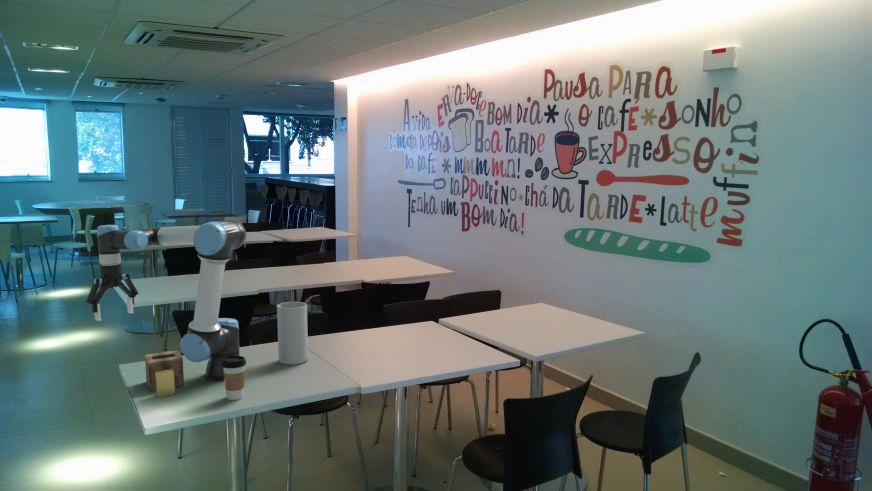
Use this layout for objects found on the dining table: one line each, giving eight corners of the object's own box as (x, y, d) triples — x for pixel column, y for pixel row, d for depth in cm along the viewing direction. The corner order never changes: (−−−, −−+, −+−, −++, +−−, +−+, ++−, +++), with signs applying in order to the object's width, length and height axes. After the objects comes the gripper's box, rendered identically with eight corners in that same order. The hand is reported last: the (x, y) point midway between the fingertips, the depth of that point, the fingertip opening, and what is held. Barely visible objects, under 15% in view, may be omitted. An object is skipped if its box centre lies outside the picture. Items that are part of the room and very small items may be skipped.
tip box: (179, 376, 244) (177, 350, 242) (184, 385, 233) (182, 358, 232) (146, 381, 237) (144, 354, 236) (150, 391, 227) (148, 363, 226)
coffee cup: (226, 393, 225) (224, 354, 223) (249, 392, 226) (248, 354, 224) (220, 402, 217) (218, 361, 215) (244, 401, 217) (242, 361, 216)
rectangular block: (173, 392, 226) (172, 369, 225) (175, 394, 224) (173, 371, 223) (156, 395, 223) (155, 371, 222) (157, 397, 221) (155, 374, 220)
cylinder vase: (314, 359, 265) (312, 304, 262) (293, 367, 255) (291, 309, 252) (293, 354, 272) (292, 300, 269) (272, 362, 262) (270, 305, 259)
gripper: (133, 259, 251) (137, 309, 253) (73, 268, 229) (77, 322, 232) (145, 260, 247) (148, 311, 250) (84, 269, 226) (89, 324, 228)
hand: (114, 316), depth 241 cm, fingers open, 13 cm apart
